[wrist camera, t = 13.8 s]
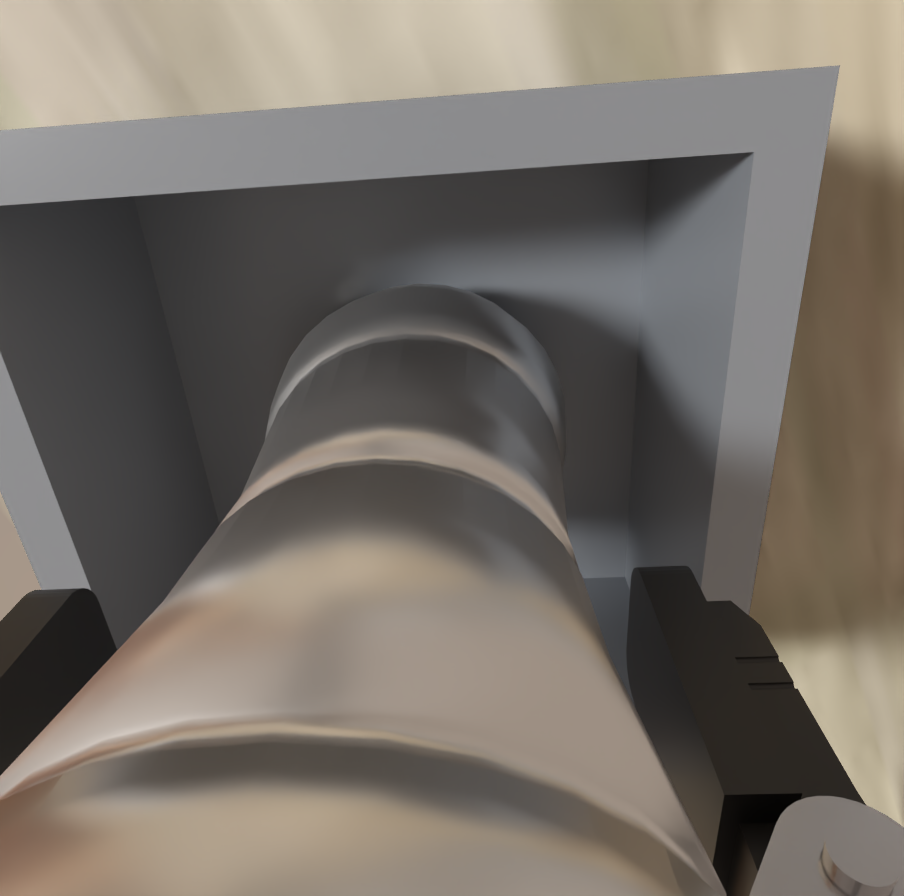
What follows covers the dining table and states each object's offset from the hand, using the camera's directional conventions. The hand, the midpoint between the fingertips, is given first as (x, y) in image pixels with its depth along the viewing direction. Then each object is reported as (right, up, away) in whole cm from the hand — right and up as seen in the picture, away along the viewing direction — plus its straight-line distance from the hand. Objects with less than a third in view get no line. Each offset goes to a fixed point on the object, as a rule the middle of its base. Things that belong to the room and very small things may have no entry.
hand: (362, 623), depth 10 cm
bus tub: (0, +4, +9) cm, 10 cm away
